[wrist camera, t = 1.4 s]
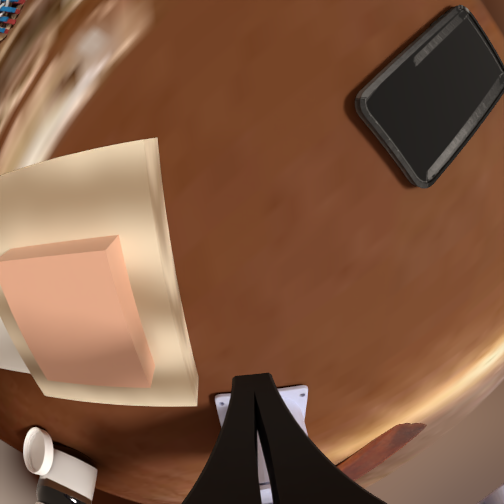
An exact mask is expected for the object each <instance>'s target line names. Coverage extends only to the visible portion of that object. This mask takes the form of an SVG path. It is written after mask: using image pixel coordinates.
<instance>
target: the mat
mask: <svg viewBox="0 0 504 504" xmlns="http://www.w3.org/2000/svg"><path fill="white" fill-rule="evenodd" d="M0 368H2V369H7V370H13V371H18V372H24V373H30V371H29V370H28V368H27V366H26V365H25V363H24V361H23V360H22V358H21V356H20V354H19V353H18V351H17V349H16V347H15V345H14V343H13V341H12V339H11V338H10V336H9V334H8V332H7V330H6V328H5V326H4V323H3V321H2V319H1V317H0ZM30 374H31V373H30Z"/></svg>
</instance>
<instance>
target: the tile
mask: <svg viewBox="0 0 504 504" xmlns="http://www.w3.org/2000/svg"><path fill="white" fill-rule="evenodd" d="M0 285H1V287H2V290H3V292H4V295H5V297H6V300H7V302H8V305H9V307H10V309H11V312H12V314H13V316H14V318H15V320H16V323H17V325H18V327H19V329H20V331H21V333H22V335H23V337H24V339H25V341H26V343H27V345H28V347H29V349H30V351H31V352H32V354H33V356H34V358H35V360H36V361H37V363H38V365H39V367H40V368H41V370H42V372H43V373H44V375H45V377H46V378H47V380H49V381H56V382H64V383H73V384H84V385H95V386H110V387H131V388H151V384H152V379H153V374H154V370H155V363H154V360H153V358H152V355H151V352H150V349H149V346H148V343H147V340H146V336H145V333H144V330H143V327H142V324H141V320H140V317H139V314H138V310H137V307H136V303H135V300H134V296H133V292H132V289H131V285H130V281H129V277H128V273H127V269H126V265H125V260H124V256H123V252H122V247H121V243H120V238H119V235H113V236H104V237H95V238H87V239H79V240H71V241H63V242H55V243H47V244H40V245H33V246H25V247H18V248H12V249H9V250H8V251H7V252H5V253H4V254H3V255H2V256H0Z"/></svg>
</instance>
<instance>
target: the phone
mask: <svg viewBox="0 0 504 504" xmlns="http://www.w3.org/2000/svg"><path fill="white" fill-rule="evenodd" d="M503 93H504V65H503V63H502V61H501V59H500V57H499V56H498V54H497V52H496V50H495V49H494V47H493V45H492V43H491V42H490V40H489V39H488V37H487V35H486V34H485V32H484V31H483V29H482V28H481V26H480V25H479V23H478V22H477V20H476V19H475V17H474V16H473V14H472V13H471V12H470V11H469V10H468V9H467V8H466V7H464V6H463V5H458V6H455V7H453V8H451V9H450V10H448V11H447V12H445V14H444V15H442V16H440V17H439V18H438V19H437V21H434V22H433V23H432V24H431V25H430V27H429V28H428V29H427V30H426V31H424V32H423V33H422V34H421V35H420V36H419V37H418V38H417V39H416V40H414V41H413V42H412V43H411V44H410V45H409V46H408V47H407V48H406V49H404V50H403V51H402V52H401V53H400V54H399V55H398V56H397V57H396V58H395V59H393V60H392V61H391V62H390V63H389V64H388V65H387V66H386V67H385V68H384V69H383V70H382V71H381V72H379V73H378V74H377V75H376V76H375V77H374V78H373V79H372V80H371V81H370V82H369V83H368V84H367V85H366V86H365V87H364V88H363V89H361V90H360V91H359V93H358V94H357V96H356V99H355V108H356V111H357V113H358V115H359V117H360V118H361V119H362V120H363V121H364V123H365V124H366V125H367V126H368V127H369V129H370V130H371V131H372V132H373V134H374V135H375V136H376V137H377V139H378V140H379V141H380V142H381V144H382V145H383V146H384V147H385V149H386V150H387V151H388V153H389V154H390V155H391V157H392V158H393V159H394V161H395V162H396V163H397V165H398V166H399V168H400V169H401V170H402V172H403V173H404V175H405V176H406V177H407V179H408V180H409V181H410V183H411V184H413V185H415V186H418V187H420V188H428V187H430V186H431V185H433V184H434V183H435V181H436V180H437V179H438V178H439V177H440V176H441V174H442V173H443V172H444V171H445V170H446V168H447V167H448V166H449V165H450V164H451V162H452V161H453V160H454V159H455V157H456V156H457V155H458V154H459V152H460V151H461V150H462V149H463V147H464V146H465V145H466V144H467V142H468V141H469V140H470V139H471V137H472V136H473V135H474V133H475V132H476V131H477V129H478V128H479V127H480V125H481V124H482V123H483V121H484V120H485V119H486V117H487V116H488V115H489V113H490V112H491V110H492V109H493V108H494V106H495V105H496V103H497V102H498V101H499V99H500V98H501V96H502V95H503Z"/></svg>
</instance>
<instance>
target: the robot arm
mask: <svg viewBox="0 0 504 504" xmlns="http://www.w3.org/2000/svg"><path fill="white" fill-rule="evenodd" d="M307 396H308V388H307V386H305V385H300V386H294V387H286V388H279V389H277V387H276V385H275V383H274V380H273V378H272V375H271V374H270V373H262V374H253V375H242V376H235V377H234V378H233V379H232V390H231V393H228V394H218V395H216V396H215V403H216V407H217V412H218V416H219V420H220V424H221V431H220V433H219V436H218V439H217V441H216V444H215V446H214V448H213V451H212V453H211V455H210V457H209V459H208V461H207V463H206V465H205V467H204V469H203V471H202V473H201V474H200V476H199V478H198V480H197V481H196V483H195V485H194V486H193V488H192V489H191V491H190V492H189V494H188V495H187V497H186V498H185V499H184V501H183V502H182V504H387V503H385V502H384V501H382V500H380V499H379V498H377V497H376V496H374V495H372V494H371V493H369V492H368V491H366V490H365V489H364V488H362V487H361V486H359V485H358V484H357V483H355V482H354V481H353V480H352V479H350V478H349V477H348V476H347V475H346V474H344V473H343V472H342V471H341V470H340V469H339V468H337V467H336V466H335V465H334V464H333V463H332V462H331V461H330V460H329V459H328V458H327V457H326V456H325V455H324V454H323V453H322V452H321V451H320V450H319V449H318V448H317V446H316V445H315V444H314V443H313V442H312V441H311V439H310V438H309V437H308V434H307V430H306V427H305V423H304V419H305V412H306V404H307ZM476 504H504V483H503V484H502V485H501V486H499V487H498V488H497V489H495V490H494V491H493V492H491V493H490V494H489V495H487V496H486V497H485V498H484V499H482V500H481V501H479V502H478V503H476Z"/></svg>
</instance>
